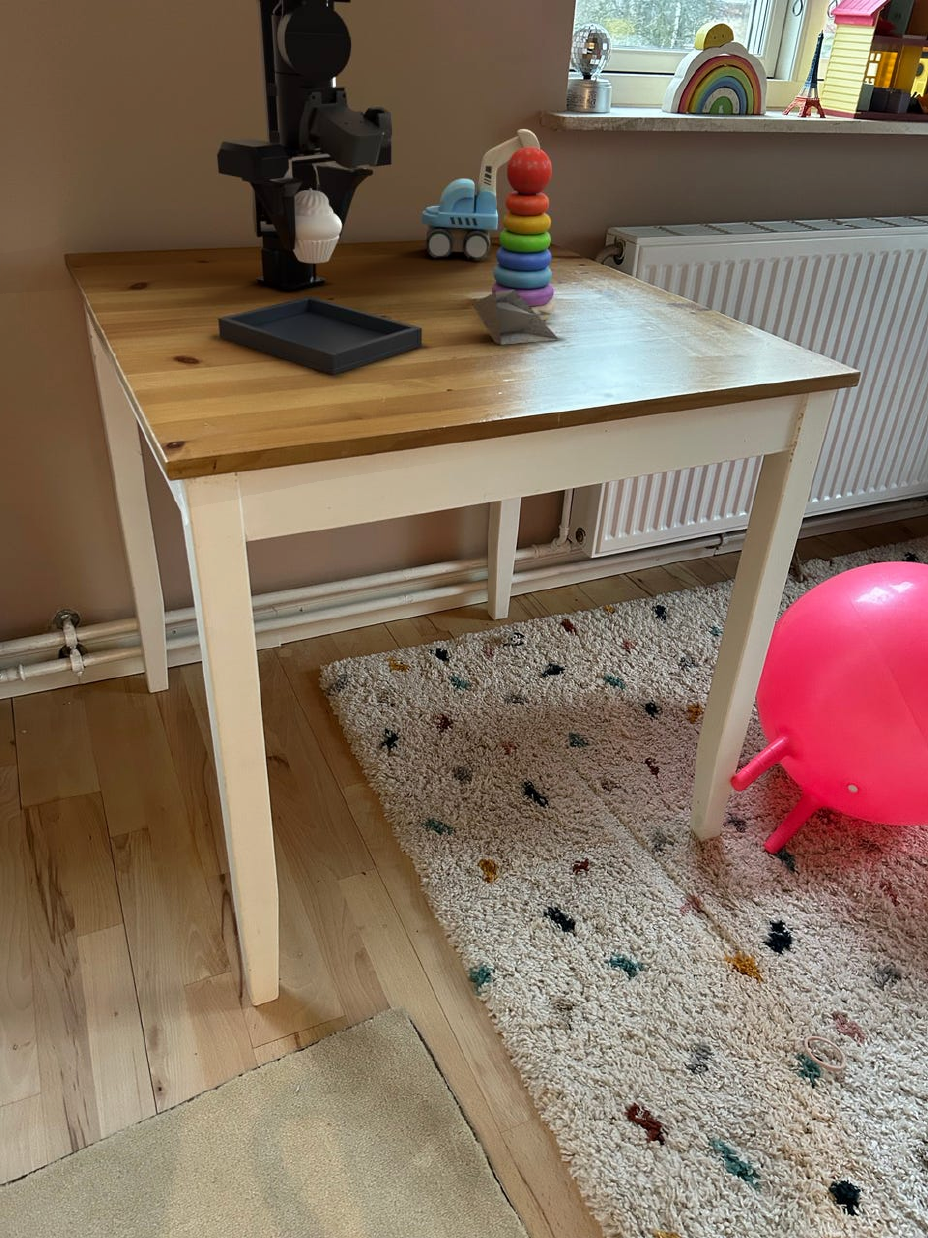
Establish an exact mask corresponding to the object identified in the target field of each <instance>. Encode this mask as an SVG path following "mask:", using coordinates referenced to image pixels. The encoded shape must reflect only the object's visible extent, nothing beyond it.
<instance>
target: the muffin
mask: <svg viewBox="0 0 928 1238" xmlns="http://www.w3.org/2000/svg"><path fill="white" fill-rule="evenodd" d="M341 229H342V223H341V221H340V219H339V217H338V216H337V215H336V214H334V213H333V210H332V208H331V207H330V206H329V201H328V198H327V197H326V195H325V194H324V193H322V192H320V191H315V190H312V189H311V188H310V189H309V190H305V191H301V192H299V193H297V194H296V195H295V231H296V237H295V249H294V250H293V251H294V253H295V255H296V257H297V259H298V260H299V261H301V262H305V263H316V264H324V263H327V262H329V261H330V259H331V258H332V254H333V253H334V250H335V248H336V246H337V244H338V243H339V241H338V239H339V234H340V232H341Z"/></svg>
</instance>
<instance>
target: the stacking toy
mask: <svg viewBox="0 0 928 1238" xmlns="http://www.w3.org/2000/svg"><path fill="white" fill-rule="evenodd" d="M552 171H553V169H552V162H551V160H550V158H549V156H548V154H547V153H546V152H545V151H544V150H542V149H541V148H540V149H539V148H536V147H524V148H521V149H519V150H517V151H516V152H515V153H514V154H513V155H512V156H511V158H510V160H508V161H507V167H506V176H507V180H508V183H509V185H510V187H511V189H513V191H511V192H510V193H508V194H507V196H506V198H505V207H506V209H507V210H508V212H506V214H504V217H503V220H502V223H503V226H504V228H505V229H503V230H502V231H501V232H500V234H499V243H500V247H499V248H498V250H497V251H496V255H495V256H496V257H495V258H496V261H497V263H498V264H496V265H495V266H494V268H493V278H494V280H495V282H493V284H492V286H491V294H492V293H494V292H498V291H507V290H515V291H516V292H517V293H518V294H519V295H520V296H521V297H522V299H523V300H524V301H525V302H526V303H527V304H528V305H529V306H530V307H531V309H532V310H533V311H534V312H535V313H536V314H541V313H540V312H539V311H538V309H540V310H543V311H545V312H548V313H551V314H550V315H538V316H539V317H540V319H541V320H542V321H543V322H544V321H546V320H548V319H550V318H551V316H553V313H554V310H555V309H554V308H555V307H554V304H553V302H552V299H553V298H554V294H555V290H554V287H553V285H552V284H551V283H550V281H551V280H552V277H553V275H552V274H553V273H552V270H551V268H550V267H549V265H550V264H551V262H552V254H551V253H552V252H551V251H550V250H549V249H548V248H549V247H550V245H551V241H552V239H551V235H550V233H549V232H548V231H549V229H550V227H551V223H552V220H551V217H550V216H549V214H547V213H545V212H546V211H548V209H549V206H550V199H549V197H548V196H547V195H546V194H545V193H542V192H543V191H544V190H545V189H546V188H547V186H548V185H549V182H550V181H551V178H552V173H553V172H552Z"/></svg>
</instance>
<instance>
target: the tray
mask: <svg viewBox="0 0 928 1238" xmlns="http://www.w3.org/2000/svg"><path fill="white" fill-rule="evenodd" d="M217 322H218V331H219V332H218V333H219V338H221V339H223V340H226V341H229V342H232V343H236V344H239V345H242V346H245V347H248V348H250V349H254V350H257V351H259V352H262V353H265V354H267V355H268V354H269V355H272V356H274V357H277V358H281V359H283V360H286V361H290V362H292V363H296V364H297V365H298V364H299V365H302V366H305V367H308V368H309V369H310V368H311V369H314V370H317V371H320V372H323V373H325V374H329V375H331V376H335V375H338V374H339V375H340V374H342V373H344V372H347V371H351V370H354V369H357V368H360V367H363V366H366V365H369V364H372V363H376V362H379V361H382V360H385V359H388V358H391V357H394V356H398V355H400V354H403V353H406V352H409V351H412V350H416V349H418V348H422V346H423V343H422V342H423V328H422V327H421V326H416V325H413V324H410V323H407V322H403V321H399V320H395V319H392V318H388V317H385V316H381V315H378V314H374V313H370V312H367V311H363V310H360V309H356V308H352V307H349V306H345V305H342V304H339V303H335V302H331V301H328V300H324V299H320V298H316V297H313V296H306V297H302V298H298V299H297V298H296V299H293V300H289V301H284V302H280V303H277V304H272V305H268V306H264V307H259V308H255V309H251V310H247V311H243V312H239V313H235V314H230V315H226V316H222V317H219V318H217Z"/></svg>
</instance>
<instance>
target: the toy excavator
mask: <svg viewBox="0 0 928 1238" xmlns="http://www.w3.org/2000/svg"><path fill="white" fill-rule="evenodd" d="M516 132H517V136H515V137H512V138H510V139H508V140H506V141H504V142H502V143H500V144H498V145H496V146H494V147H492V148H490V149H489V150H488V151H487V152H486V153H484V155H483V158H482V161H481V165H480V170H479V178H478V184H477V190H476V185H475V182H474V181H473V180H472V179H470V178H457V179H455V180H453V181H452V182H450V183H449V184H448V185H447V186H446V187H445V189H443V191H442V193H441V195H440V198H439V205H432V206H428V207H426V208H425V210H423V211H422V213H421V223H423V225H426V226H427V231H426V238H425V247H426V251H427V252H428V254H429V255H430V256H431V257H432V258H434V259H438V258H439V259H440V258H447V257H449V255H451V253H452V252H455V253H456V252H457V253H463V254H464V255H465V256H466V258H467V259H472V260H473V261H474V262H479V261H483V260H484V259H485V258H486V257H487V256H488V255H489V253H490V250H491V241H490V231H496V230H498V221H499V215H498V210H497V202H498V201H497V200H498V199H497V171H498V170H499V168H500V167H501V166H502V165H504V164H506V163H508V162H509V160H510V158H511V156H512V155H513V154H514V153H515V152H516V151H517V150H519V149H521V148H524V147H536V148H539V149H541V145H540V141H539V140H538V137H537V136H536V134H535V133H534V132H532V131H531V130H529V129H526V128H521V129H518V130H517V131H516ZM476 191H477V193H476Z"/></svg>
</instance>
